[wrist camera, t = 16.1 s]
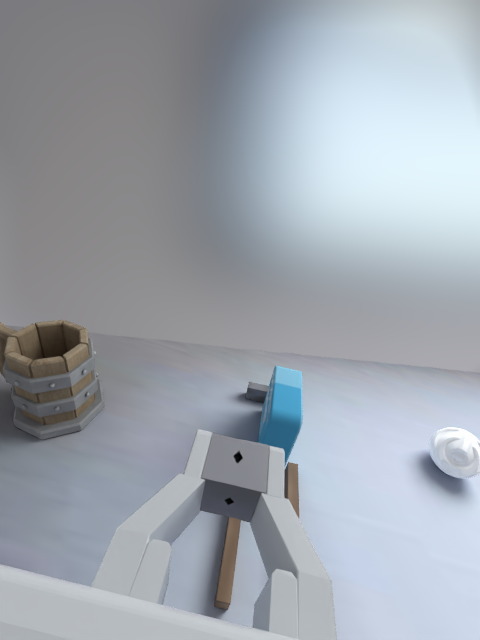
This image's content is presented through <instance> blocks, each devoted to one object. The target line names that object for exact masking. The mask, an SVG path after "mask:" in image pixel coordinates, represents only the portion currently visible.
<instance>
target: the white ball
mask: <svg viewBox="0 0 480 640" xmlns="http://www.w3.org/2000/svg"><path fill="white" fill-rule="evenodd" d="M429 451H430V455H431V457H432V459H433V461H434V463H435V464H436V465H437V466H438V467H439V468H440V469H441V470H442V471H443V472H445V473H446V474H448V475H450V476H453V477H456V478H463V479H464V478H471V477H475V476H477V475H478V474H480V441H479V440H478V439H477V438H476V437H475V436H474V435H472V434H471V433H469V432H467V431H465V430H463V429H459V428H444V429H441V430H439V431H437V432H436V433H435V434H434V435H433V436H432V438H431V440H430V442H429Z"/></svg>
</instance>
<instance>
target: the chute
mask: <svg viewBox="0 0 480 640" xmlns="http://www.w3.org/2000/svg"><path fill="white" fill-rule="evenodd" d="M268 388H269V386H266V385H261V384H257V383H252V382H249V385H248V389H247V393H246V399H250V400H254V401H259V402H263V403H264V401H265V398H266V394H267V391H268ZM285 498H286V499H289V501H290V503H291V505H292V507H293V509H294V511H295V512H296V514H297V516H298V518H299V493H298V464H294V463H289V462H288V464H287V467H286V469H285ZM240 523H241V520H239V519H235V518H232V517H228V524H227V530H226V536H225V542H224V549H223V555H222V561H221V567H220V574H219V580H218V586H217V592H216V598H215V605H214V606H215V607H219V608H223V609H227V610H228V608H229V605H230V602H231V594H232V586H233V578H234V570H235V562H236V555H237V547H238V539H239V531H240Z"/></svg>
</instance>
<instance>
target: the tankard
mask: <svg viewBox="0 0 480 640" xmlns="http://www.w3.org/2000/svg"><path fill="white" fill-rule="evenodd" d="M94 355H96V352H95V351H93V344H92V339H90V338H88V335H87V329H86V328H84V327H81V326H79V325H76V324H73V323H71V322H68V321H63V320H59V321H47V322H38V323H35V325H34V324H31V325H29V326H27V327H25V328H23V329H21V330H19V331H15V330H13V329H10V328H8V327H6V326H5V325H4V324H2V323H1V322H0V372H1V374H2V375H3V376H4V378H5V379H6V382H8V383H10V384H12V385H13V387H12V389H11V390H12V393H11V397H12V400H13V403H14V406H15V411H14V418H13V422H14V425H15V427H17V428H19V429H21V430H23V431H25V432H27V433H29V434H32V435H34V436H36V437H38V438H40V439H42V440H43V439H47V438H51V437H56V436H60V435H64V434H68V433H72V432H77V431H81V430H82V429H83V428H84V427H85V426H86V425H87V424H88V423H89V422H90V421H91V420H92V419H93V418H94V417H95V416H96V415H97V414H98V413H99V412H100V411H101V410H102V409H103V408H104V400H103V392H102V385H101V381H100V380H98V379H97V378H96V377H98V373H96V370H95V361H94Z"/></svg>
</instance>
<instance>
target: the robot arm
mask: <svg viewBox="0 0 480 640" xmlns="http://www.w3.org/2000/svg"><path fill="white" fill-rule="evenodd" d="M284 467H285V452H284V449H283V448H278V447H273V446H269V445H266V444H262V443H257V442H252V441H248V440H243V439H241V440H240V439H236V438H232V437H228V436H224V435H220V434H217V433H213V432H209V431H204V430H200V429H198V431H197V433H196V436H195V439H194V442H193V445H192V449H191V452H190V455H189V458H188V461H187V464H186V468H185V471H184V474H180V473H179V474H178V475H177V476H175V477H174V478H173V479H172V480H171V481H170V482H169V483H168V484H166V485H165V486H164V487H163V488H162V489H161V490H160V491H158V492H157V493H156V494H155V495H154V496H153V497H152V498H150V499H149V500H148V501H147V502H146V503H145V504H144V505H143V506H141V507H140V508H139V509H138V510H137V511H136V512H135V513H133V514H132V515H131V516H130V517H129V518H128V519H127V520H126V521H124V522H123V523H122V524H121V525H120V526H119V527H118V528H117V529H116V532H115V534H114V536H113V538H112V541H111V543H110V545H109V547H108V549H107V552H106V554H105V556H104V558H103V561H102V563H101V565H100V567H99V570H98V572H97V574H96V576H95V579H94V581H93V583H92V585H91V587H89V586H85V585H81V584H77V583H73V582H69V581H65V580H61V579H57V578H53V577H49V576H45V575H41V574H37V573H33V572H29V571H25V570H21V569H17V568H13V567H9V566H5V565H1V564H0V640H337V635H336V624H335V613H334V602H333V592H332V581H331V579H330V577H329V575H328V573H327V571H326V569H325V568H324V566H323V564H322V562H321V560H320V558H319V556H318V554H317V552H316V550H315V549H314V547H313V545H312V543H311V541H310V539H309V537H308V535H307V533H306V531H305V530H304V528H303V526H302V524H301V522H300V520H299V518H298V516H297V514H296V512H295V511H294V509H293V507H292V505H291V503H290V501H289V499H286V498H284ZM199 511H205V512H210V513H214V514H219V515H224V516H228V517H232V518H235V519H239V520H243V521H246V522H250V525H251V528H252V531H253V534H254V537H255V540H256V543H257V546H258V549H259V552H260V554H261V557H262V560H263V563H264V566H265V569H266V572H267V575H268V578H269V580H268V582H267V583H266V585H265V587H264V589H263V590H262V592H261V594H260V596H259V597H258V599H257V601H256V603H255V605H254V617H253V628H252V627H248V626H244V625H240V624H236V623H232V622H228V621H224V620H220V619H216V618H212V617H208V616H204V615H200V614H196V613H192V612H188V611H184V610H180V609H176V608H172V607H168V606H164V605H163V602H164V598H165V594H166V590H167V586H168V582H169V572H170V563H171V554H172V548H171V545H172V544H173V542H174V541H175V540H176V539H177V538H178V537H179V535H180V534H181V533H182V532H183V531H184V530H185V528H186V527H187V526H188V525H189V524H190V523H191V521H192V520H193V519H194V518H195V517H196V516H197V514H198V513H199Z"/></svg>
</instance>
